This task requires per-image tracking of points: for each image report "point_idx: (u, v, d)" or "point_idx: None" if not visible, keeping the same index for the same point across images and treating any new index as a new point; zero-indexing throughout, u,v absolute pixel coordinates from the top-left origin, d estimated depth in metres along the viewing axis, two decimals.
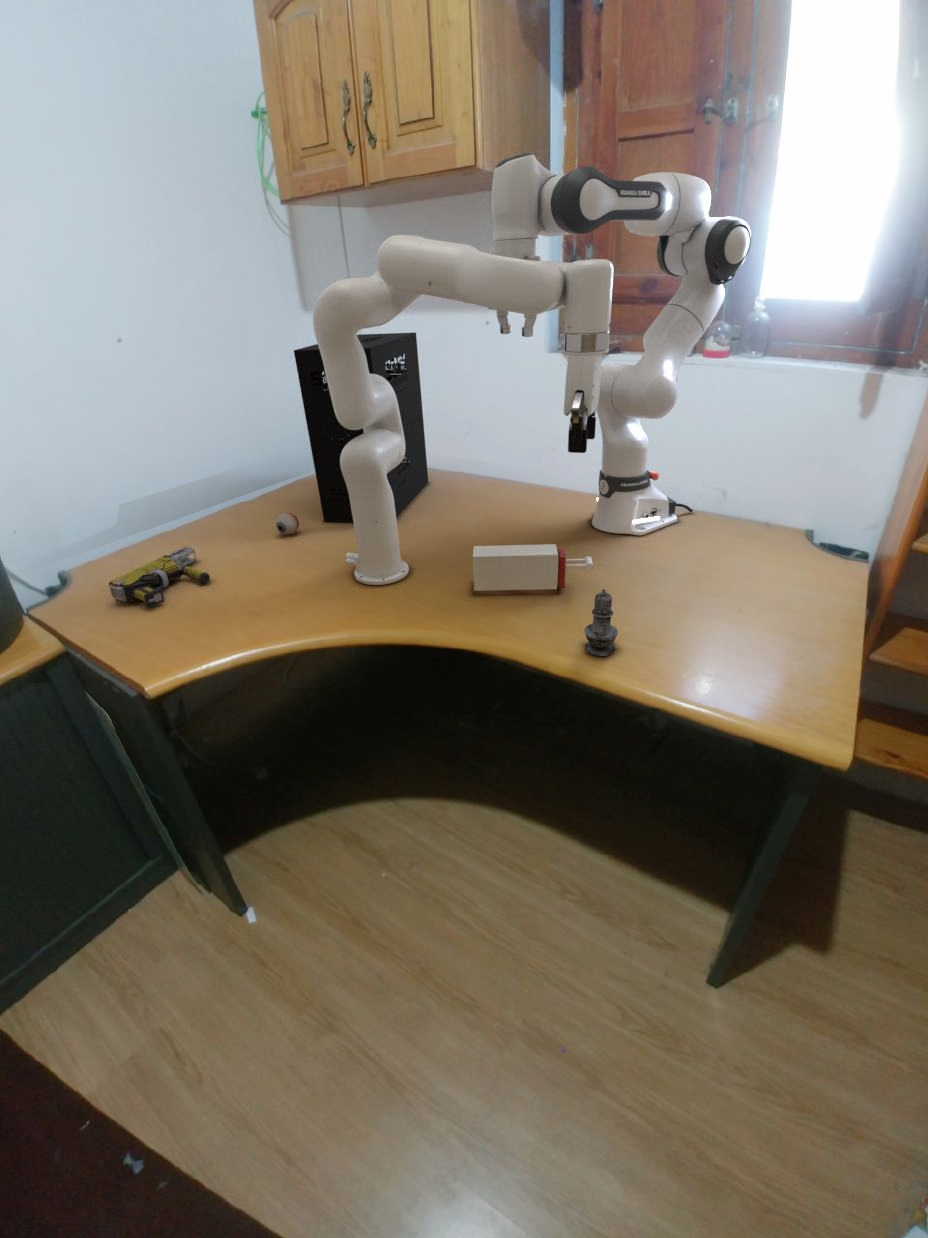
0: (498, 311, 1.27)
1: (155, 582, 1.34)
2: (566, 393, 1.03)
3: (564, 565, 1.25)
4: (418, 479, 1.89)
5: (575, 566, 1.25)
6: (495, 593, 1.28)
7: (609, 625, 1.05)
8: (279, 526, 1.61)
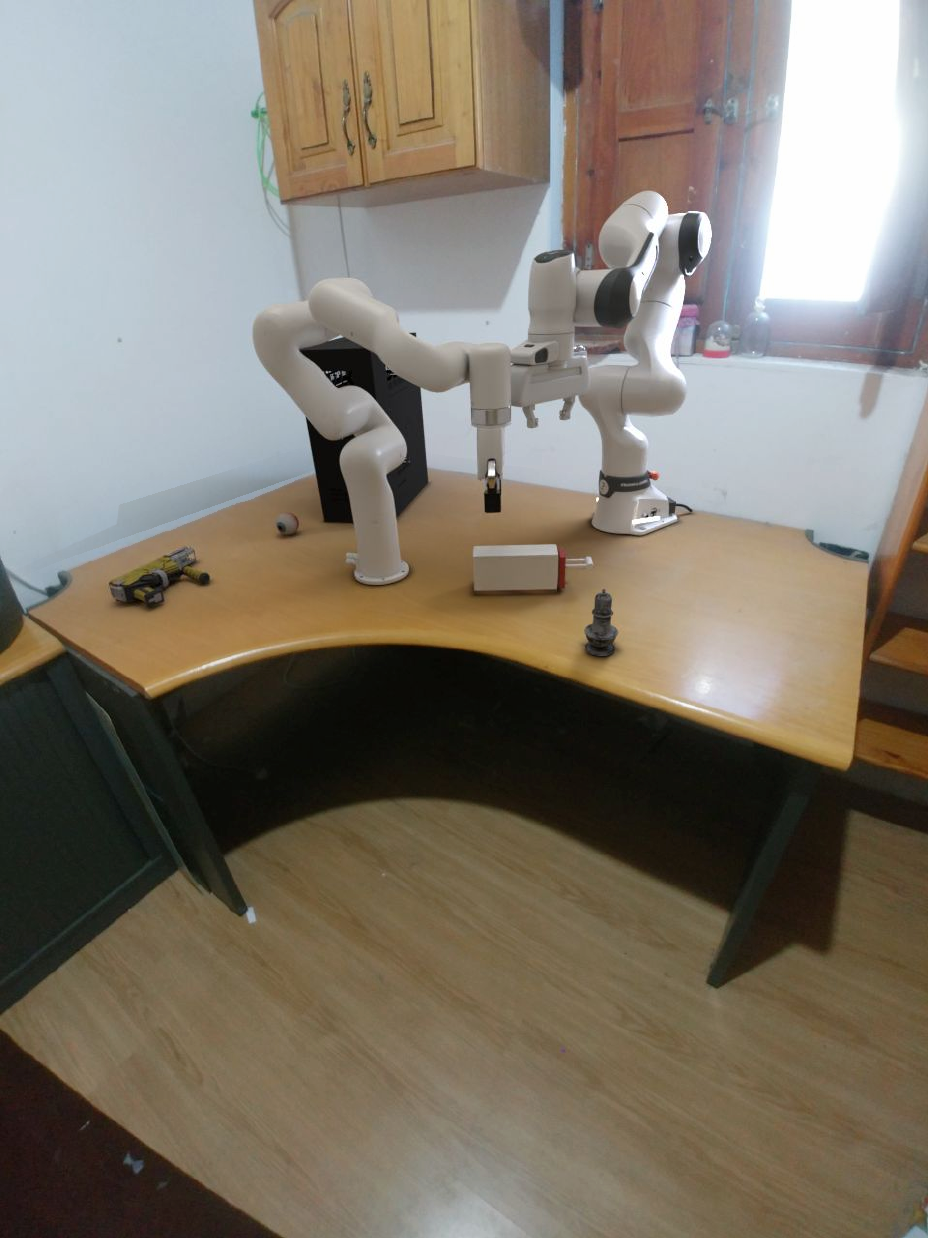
0: (533, 406, 1.16)
1: (155, 582, 1.34)
2: (479, 461, 1.12)
3: (564, 565, 1.25)
4: (418, 479, 1.89)
5: (575, 566, 1.25)
6: (495, 593, 1.28)
7: (609, 625, 1.05)
8: (279, 526, 1.61)
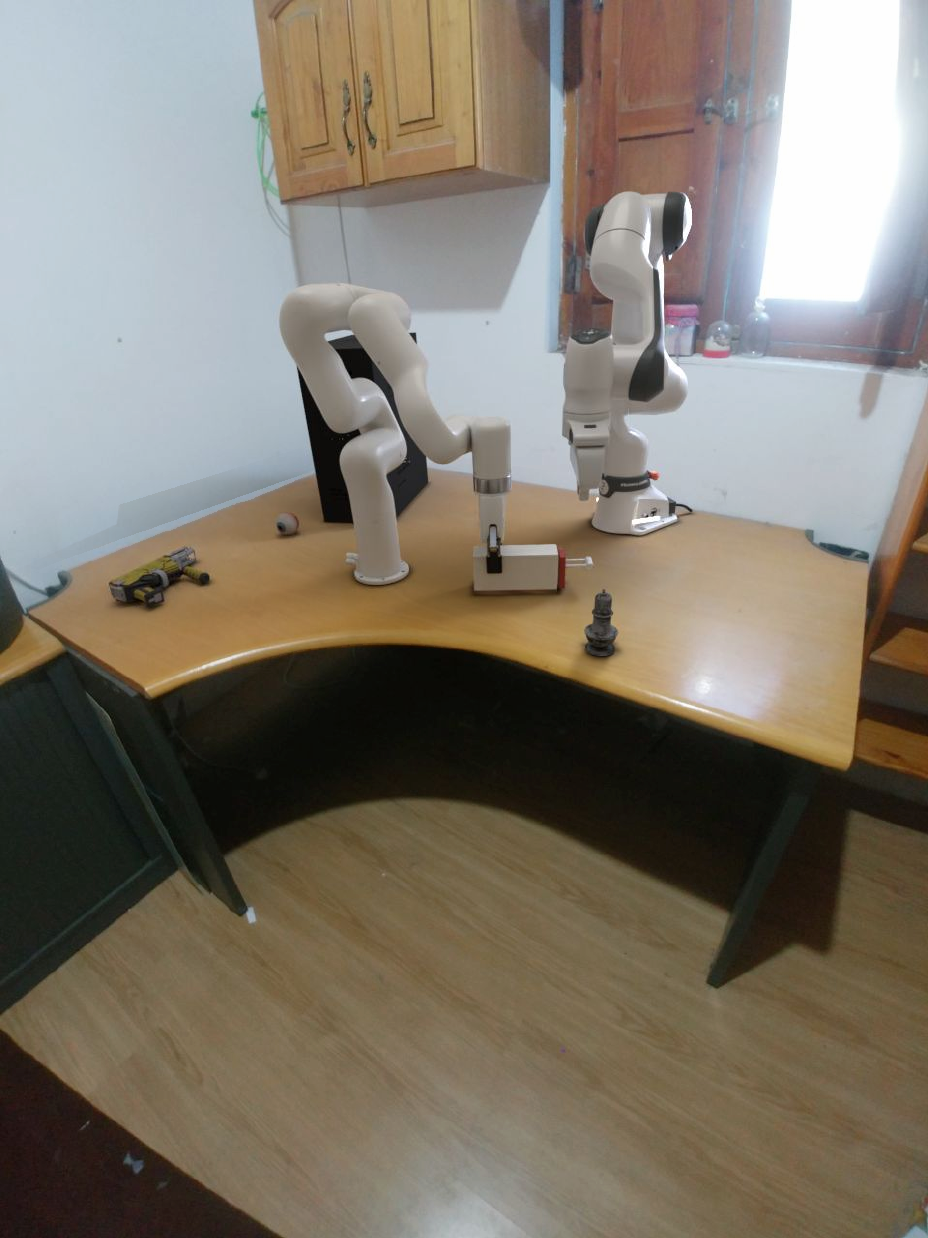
0: None
1: (155, 582, 1.34)
2: (481, 527, 1.19)
3: (564, 565, 1.25)
4: (418, 479, 1.89)
5: (575, 566, 1.25)
6: (495, 593, 1.28)
7: (609, 625, 1.05)
8: (279, 526, 1.61)
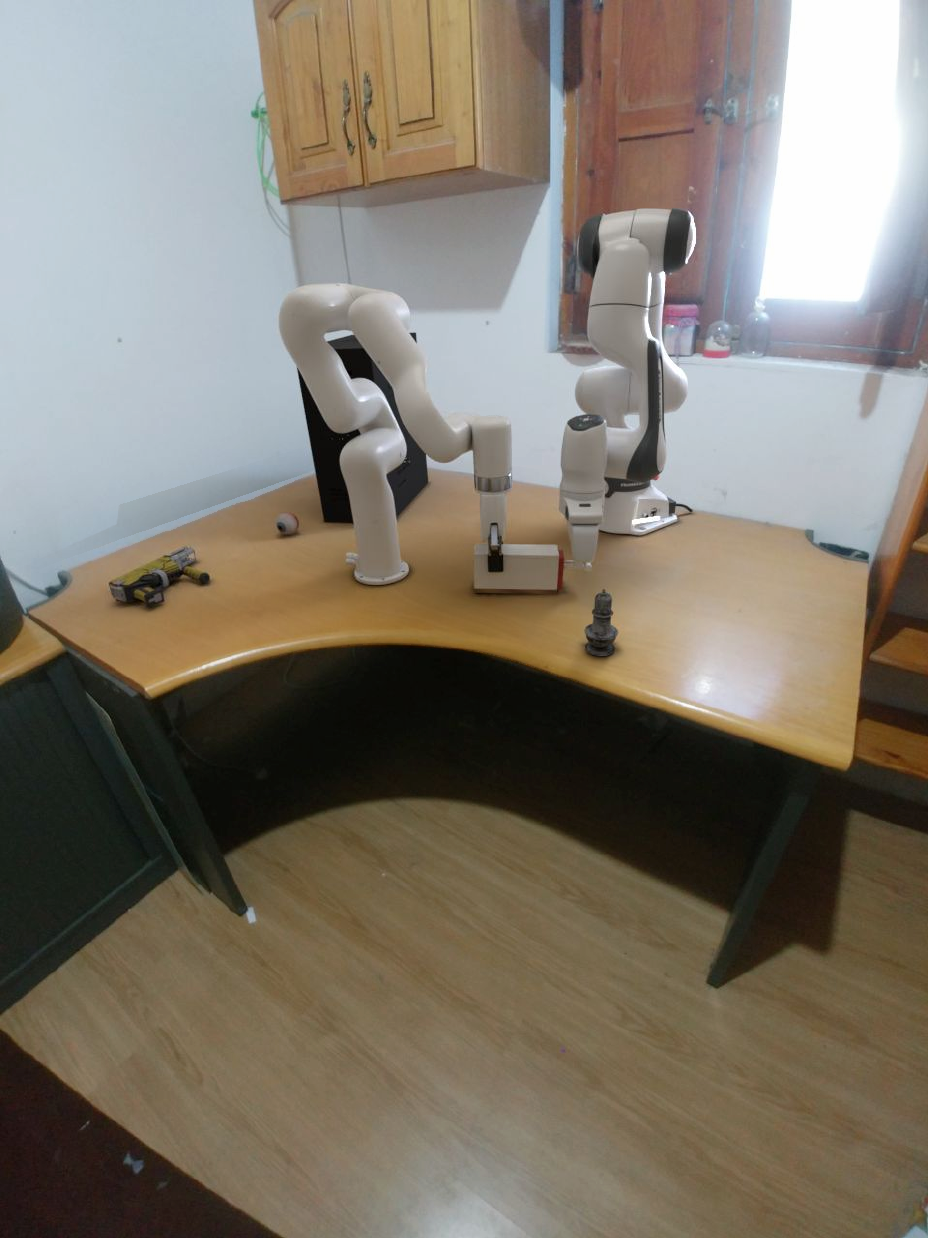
0: None
1: (155, 582, 1.34)
2: (482, 525, 1.19)
3: (562, 566, 1.25)
4: (418, 479, 1.89)
5: (573, 567, 1.25)
6: (495, 592, 1.28)
7: (609, 625, 1.05)
8: (279, 526, 1.61)
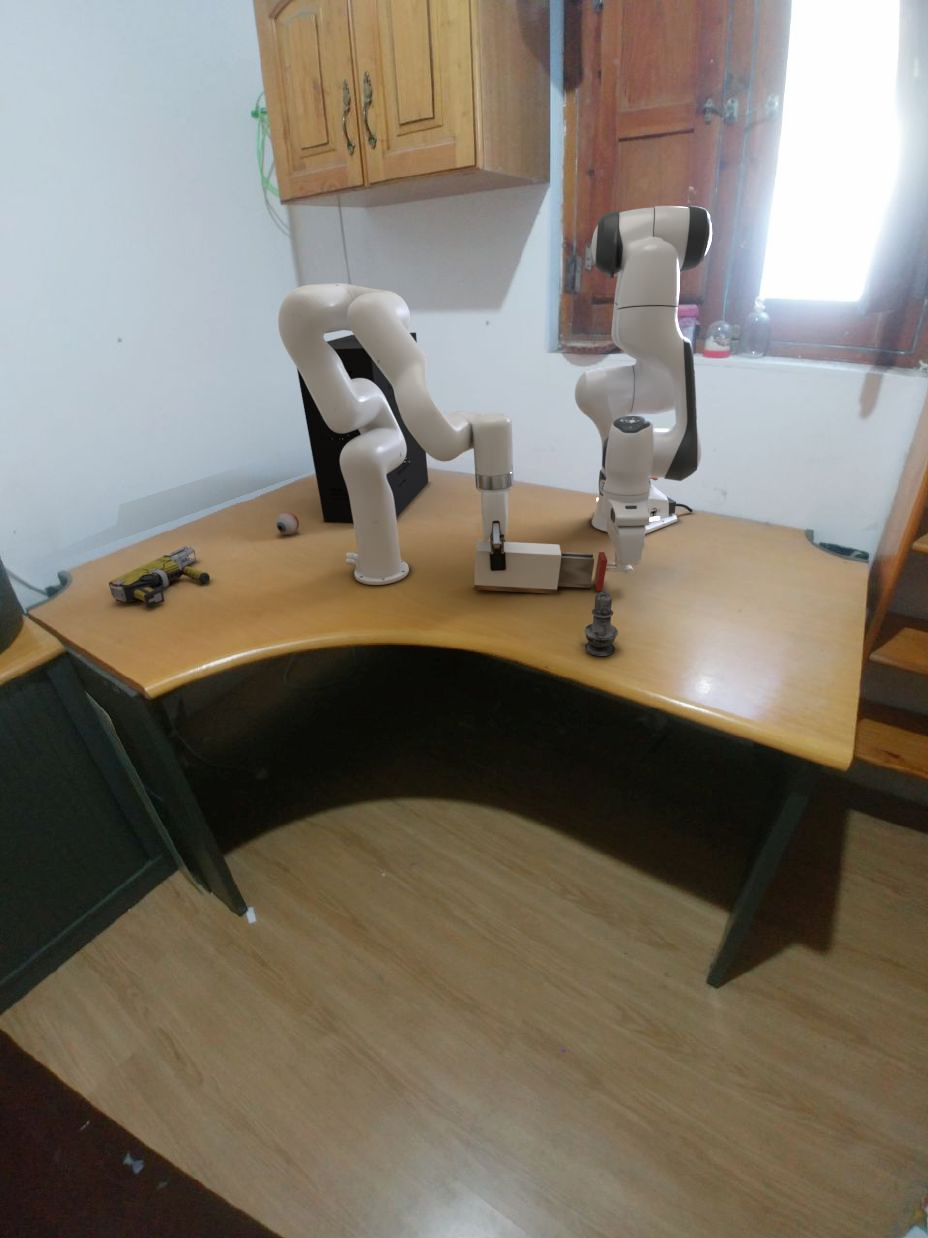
0: None
1: (155, 582, 1.34)
2: (484, 524, 1.18)
3: (605, 568, 1.25)
4: (418, 479, 1.89)
5: (615, 570, 1.25)
6: (495, 589, 1.28)
7: (609, 625, 1.05)
8: (279, 526, 1.61)
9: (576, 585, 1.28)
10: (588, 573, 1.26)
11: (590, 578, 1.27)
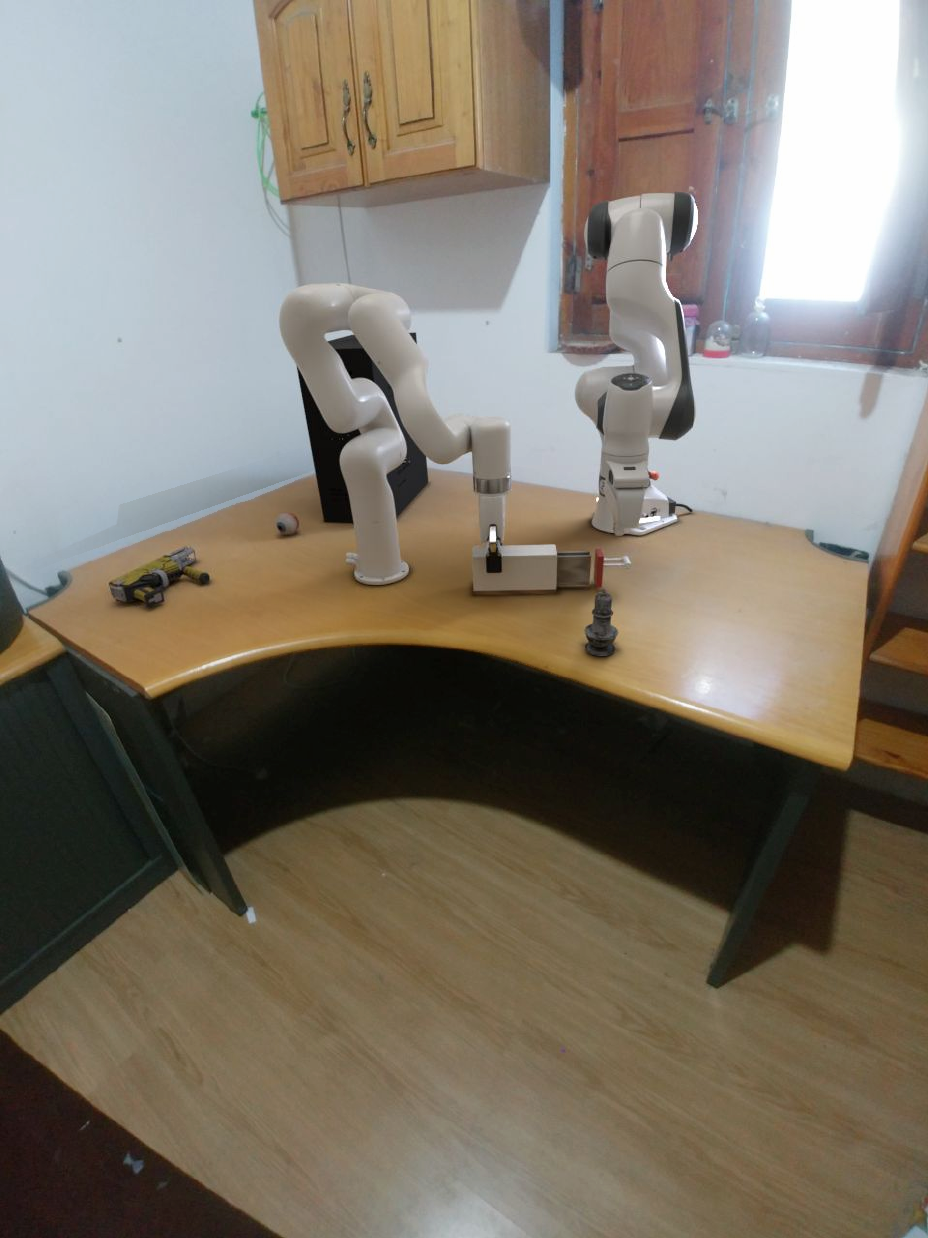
0: None
1: (155, 582, 1.34)
2: (481, 527, 1.19)
3: (602, 564, 1.24)
4: (418, 479, 1.89)
5: (613, 565, 1.25)
6: (494, 593, 1.28)
7: (609, 625, 1.05)
8: (279, 526, 1.61)
9: (575, 583, 1.27)
10: (586, 571, 1.26)
11: (588, 575, 1.26)
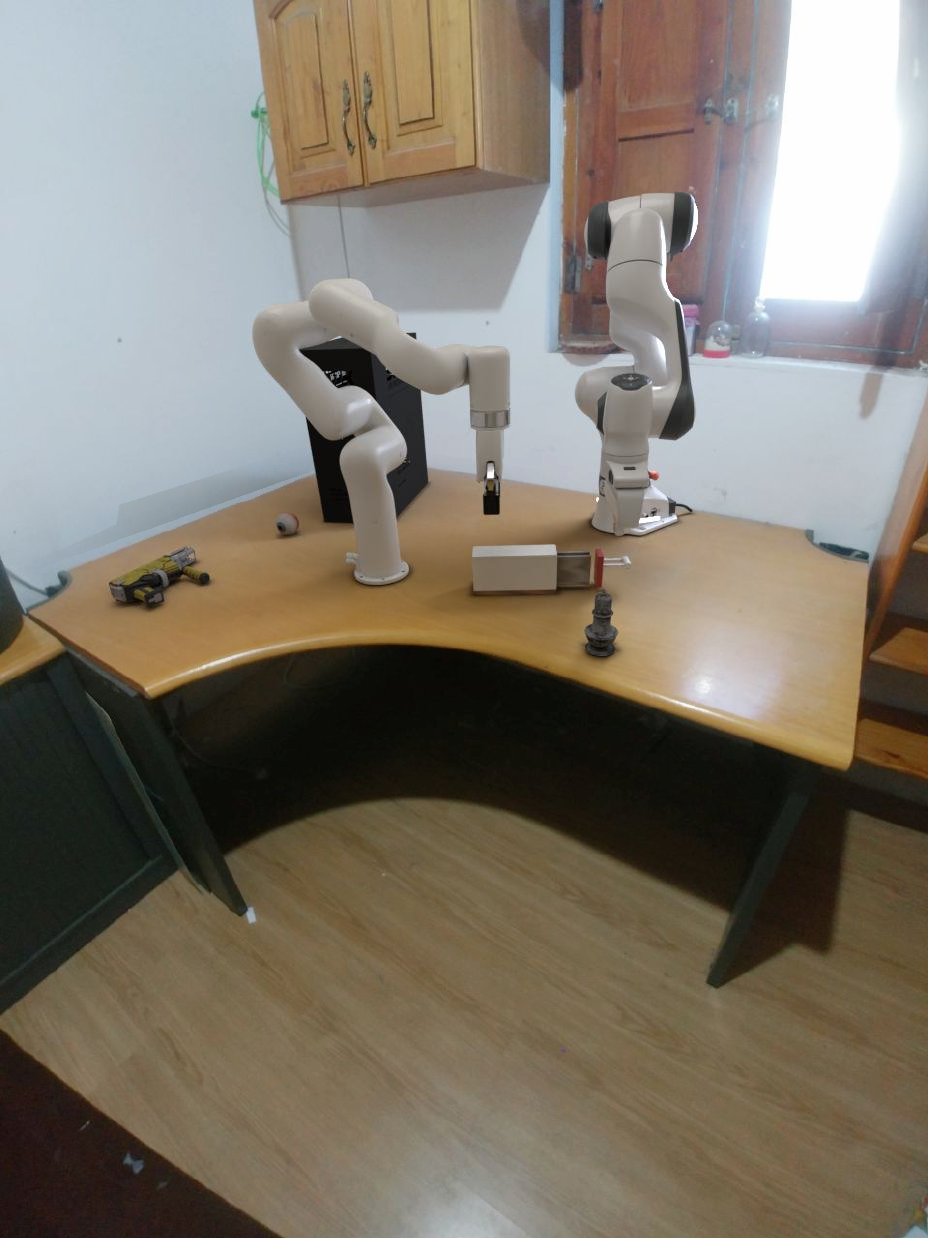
0: None
1: (155, 582, 1.34)
2: (478, 464, 1.13)
3: (602, 564, 1.24)
4: (418, 479, 1.89)
5: (613, 565, 1.25)
6: (494, 593, 1.28)
7: (609, 625, 1.05)
8: (279, 526, 1.61)
9: (575, 583, 1.27)
10: (586, 571, 1.26)
11: (588, 575, 1.26)
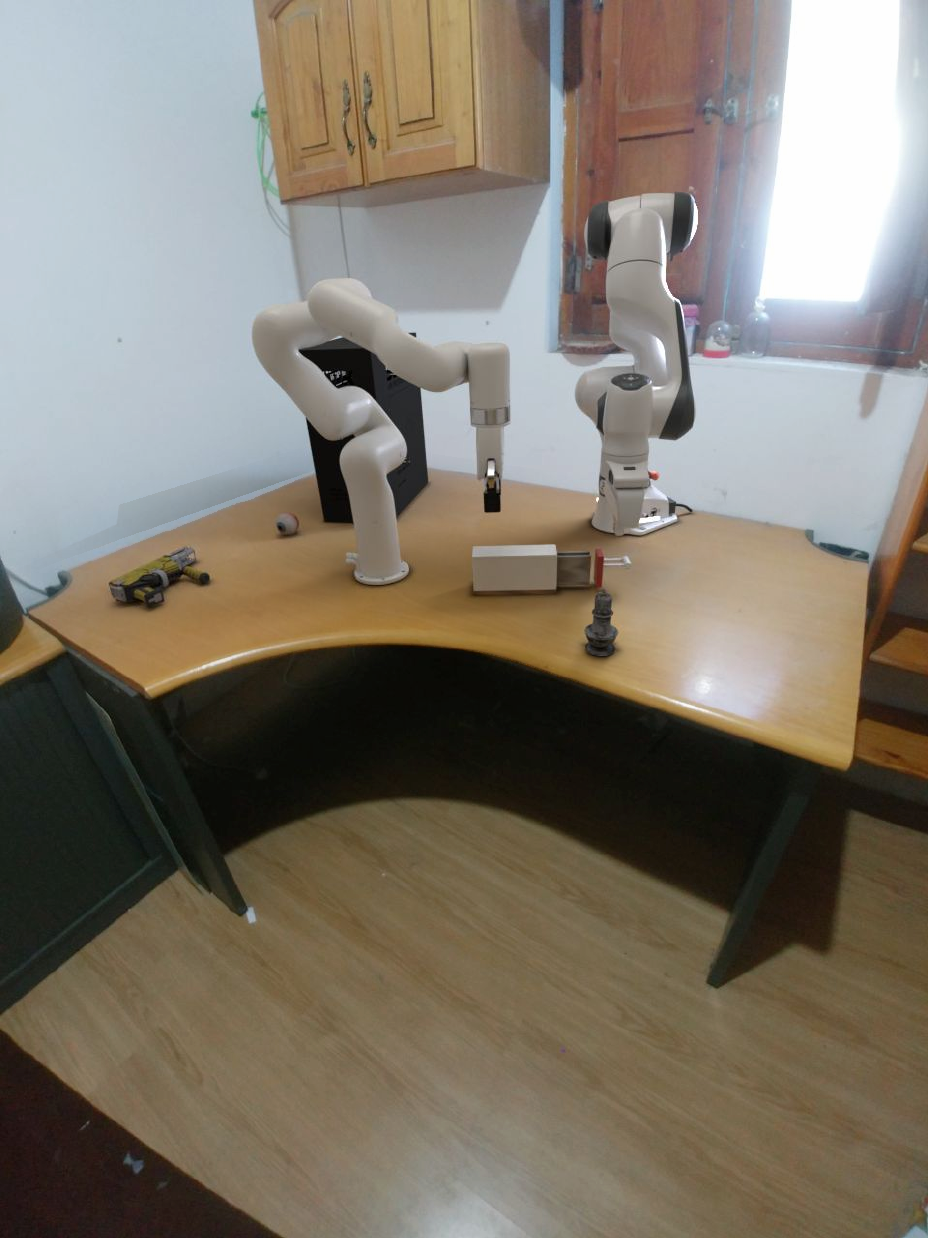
0: None
1: (155, 582, 1.34)
2: (479, 461, 1.12)
3: (602, 564, 1.24)
4: (418, 479, 1.89)
5: (613, 565, 1.25)
6: (494, 593, 1.28)
7: (609, 625, 1.05)
8: (279, 526, 1.61)
9: (575, 583, 1.27)
10: (586, 571, 1.26)
11: (588, 575, 1.26)
